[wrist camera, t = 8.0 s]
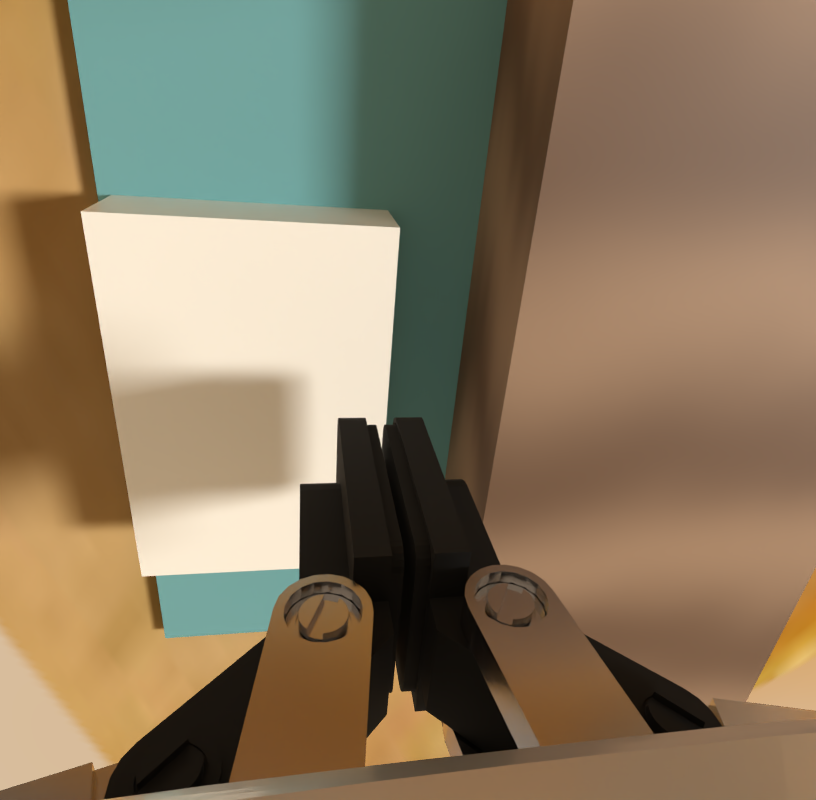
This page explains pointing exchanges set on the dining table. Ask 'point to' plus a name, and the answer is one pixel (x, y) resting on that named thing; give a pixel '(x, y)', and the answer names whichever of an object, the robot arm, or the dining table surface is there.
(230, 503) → the cream white panel
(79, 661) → the dining table surface
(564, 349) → the brown wooden block
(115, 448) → the dining table surface
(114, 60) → the mat
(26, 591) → the dining table surface
